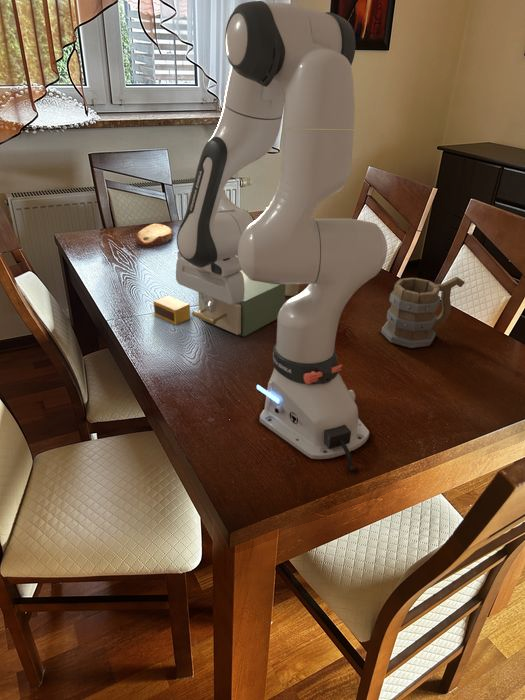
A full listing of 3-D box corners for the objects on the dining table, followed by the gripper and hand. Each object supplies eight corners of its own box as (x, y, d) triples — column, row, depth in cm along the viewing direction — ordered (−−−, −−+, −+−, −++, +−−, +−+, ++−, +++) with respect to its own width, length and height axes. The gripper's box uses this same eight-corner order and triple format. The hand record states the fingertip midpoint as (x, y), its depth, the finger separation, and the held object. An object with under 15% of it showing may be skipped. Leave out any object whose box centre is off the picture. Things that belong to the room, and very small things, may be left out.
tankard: (397, 350, 129) (407, 294, 121) (374, 326, 139) (382, 274, 132) (468, 341, 134) (482, 287, 126) (440, 319, 144) (452, 268, 137)
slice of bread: (162, 227, 209) (161, 218, 207) (186, 239, 197) (186, 229, 195) (120, 235, 199) (119, 226, 197) (144, 248, 187) (143, 238, 185)
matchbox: (190, 318, 141) (190, 303, 139) (175, 325, 137) (174, 310, 135) (169, 308, 146) (168, 294, 144) (154, 315, 142) (152, 301, 140)
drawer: (222, 343, 128) (222, 313, 124) (184, 325, 135) (182, 297, 131) (276, 314, 142) (277, 287, 138) (238, 300, 149) (238, 274, 145)
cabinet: (243, 336, 133) (244, 301, 128) (202, 318, 141) (201, 285, 136) (284, 315, 144) (285, 281, 139) (243, 299, 152) (243, 267, 147)
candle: (297, 297, 155) (299, 265, 150) (278, 295, 156) (280, 263, 151) (299, 289, 159) (301, 258, 154) (281, 287, 160) (283, 256, 155)
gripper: (168, 249, 127) (171, 301, 134) (230, 272, 116) (230, 327, 123) (187, 243, 131) (189, 293, 138) (249, 264, 120) (248, 318, 127)
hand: (209, 309), depth 130 cm, fingers closed
